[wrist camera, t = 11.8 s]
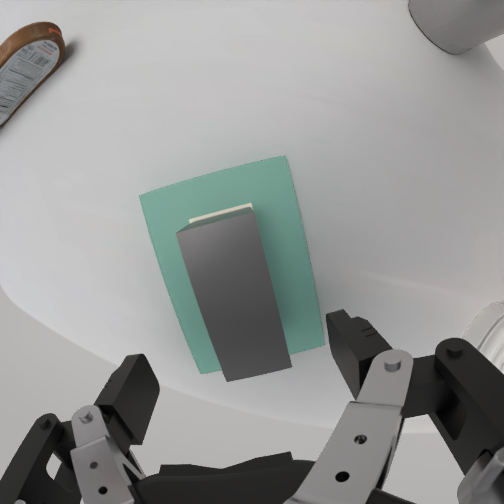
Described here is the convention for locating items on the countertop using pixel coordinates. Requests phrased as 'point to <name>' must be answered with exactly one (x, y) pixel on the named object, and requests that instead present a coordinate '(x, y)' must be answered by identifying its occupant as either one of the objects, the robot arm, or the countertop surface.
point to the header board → (272, 236)
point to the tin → (27, 63)
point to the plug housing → (235, 293)
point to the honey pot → (489, 334)
